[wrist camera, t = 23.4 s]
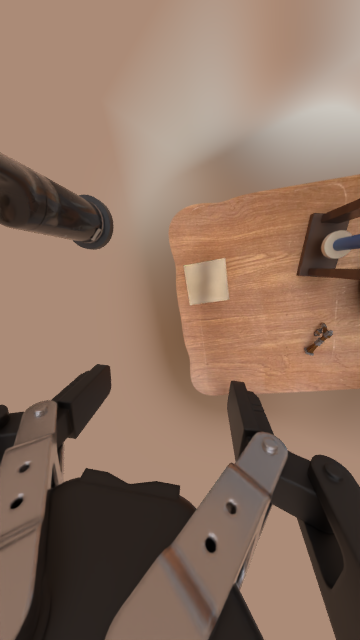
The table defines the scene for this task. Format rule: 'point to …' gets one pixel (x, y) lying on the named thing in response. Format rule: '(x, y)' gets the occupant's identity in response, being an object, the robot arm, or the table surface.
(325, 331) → the hanging lantern post
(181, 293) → the table surface
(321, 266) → the stand
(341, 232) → the bar
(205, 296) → the riser
